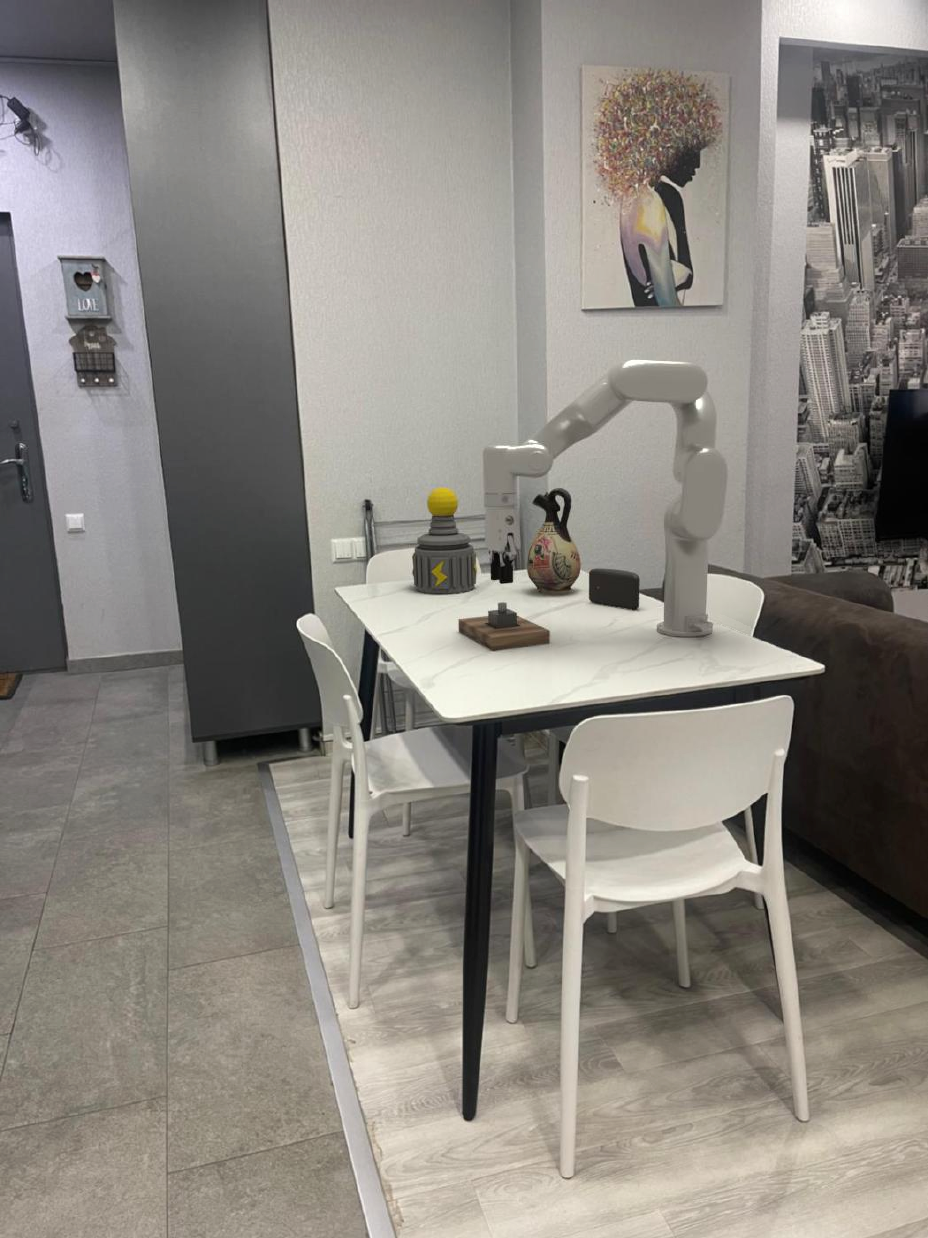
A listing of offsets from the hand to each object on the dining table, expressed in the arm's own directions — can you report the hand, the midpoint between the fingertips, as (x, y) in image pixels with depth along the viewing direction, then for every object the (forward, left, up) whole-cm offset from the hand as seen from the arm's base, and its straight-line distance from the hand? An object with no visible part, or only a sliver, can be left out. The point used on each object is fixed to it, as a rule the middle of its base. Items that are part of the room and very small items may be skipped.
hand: (501, 580), depth 203 cm
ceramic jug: (+41, -35, -14) cm, 56 cm away
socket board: (0, 0, -13) cm, 13 cm away
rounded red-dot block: (+17, -40, -14) cm, 45 cm away
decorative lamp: (+62, -9, -14) cm, 64 cm away
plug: (0, 0, -12) cm, 12 cm away
